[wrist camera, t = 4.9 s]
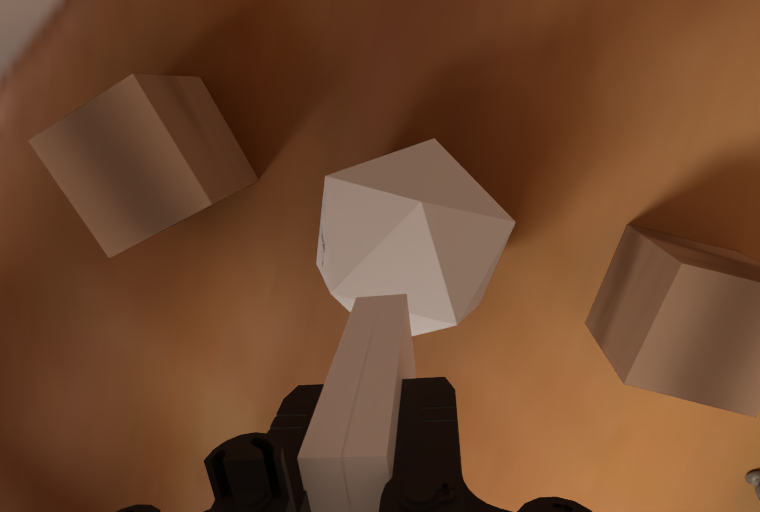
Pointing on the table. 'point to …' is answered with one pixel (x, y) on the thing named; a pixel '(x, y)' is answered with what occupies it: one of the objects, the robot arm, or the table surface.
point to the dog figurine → (754, 480)
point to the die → (411, 235)
